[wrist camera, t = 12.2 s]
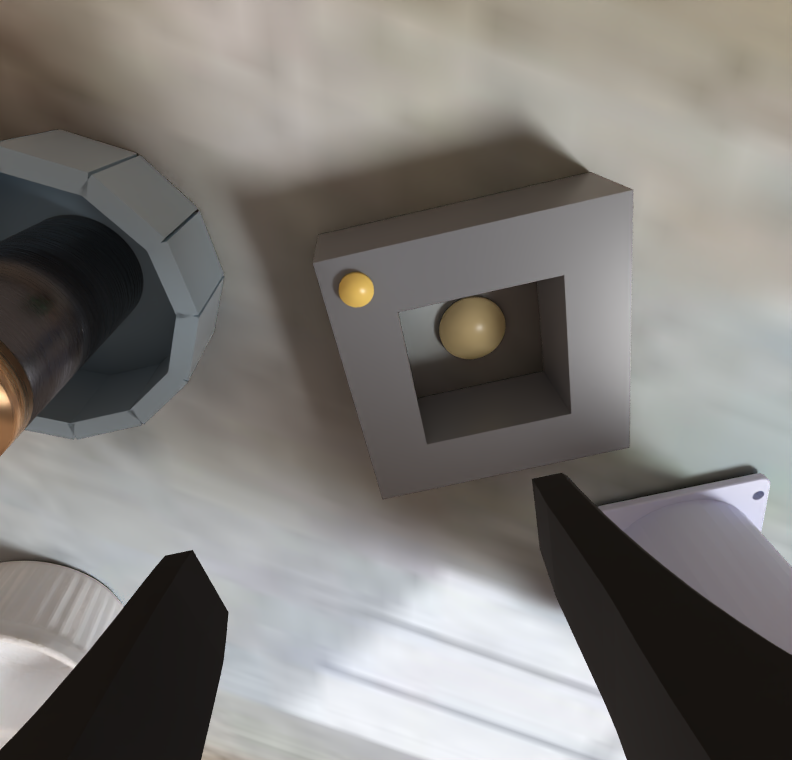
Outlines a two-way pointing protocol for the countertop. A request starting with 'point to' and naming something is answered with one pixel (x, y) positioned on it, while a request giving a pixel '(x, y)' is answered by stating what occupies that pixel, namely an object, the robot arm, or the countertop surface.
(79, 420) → the grey round bowl
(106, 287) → the battery cell
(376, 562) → the countertop surface
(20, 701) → the ramekin
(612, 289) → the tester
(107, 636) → the robot arm
